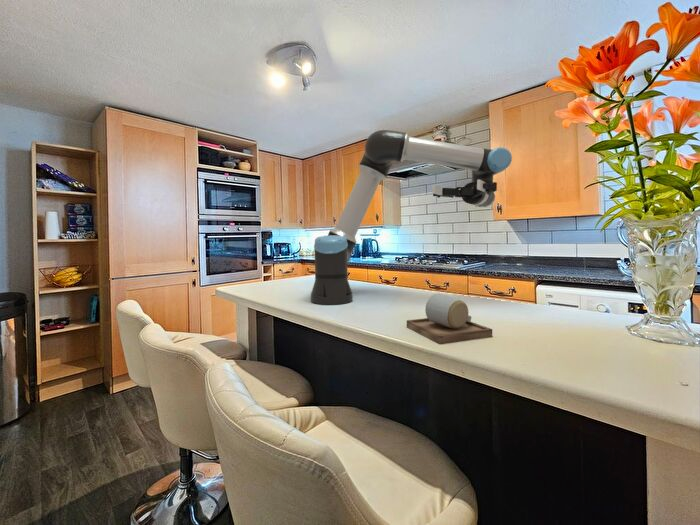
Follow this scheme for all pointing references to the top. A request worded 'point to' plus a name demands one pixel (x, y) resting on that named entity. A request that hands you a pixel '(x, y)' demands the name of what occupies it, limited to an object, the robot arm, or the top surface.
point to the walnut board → (448, 331)
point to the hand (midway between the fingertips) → (455, 186)
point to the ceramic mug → (447, 311)
